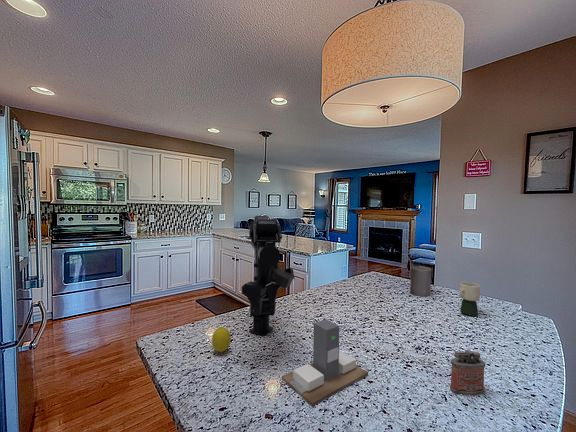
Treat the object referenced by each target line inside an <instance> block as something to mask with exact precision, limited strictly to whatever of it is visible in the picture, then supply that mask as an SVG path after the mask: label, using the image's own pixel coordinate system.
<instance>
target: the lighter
mask: <svg viewBox="0 0 576 432" xmlns="http://www.w3.org/2000/svg"><path fill="white" fill-rule="evenodd" d="M453 356H454V358H451V359H450V364H451V367H450V368H451V369H450V370H451V371H450V373H451V374H450V379H451V380H450V384H449V390H450V392H451V391H452V392H451V393H453V394H454V393H455V395H458V394H462V395H461V396H469V395H473V396H480V395H481V394H482V395H485V385H484V384H485V383H484V382H485V368H486V362H485V361H484V360H482V359H481V353H480V352H479V351H471V350H470V349H466V350H462V351H461V350H459V351H458V350H457V351H454V355H453Z"/></svg>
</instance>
